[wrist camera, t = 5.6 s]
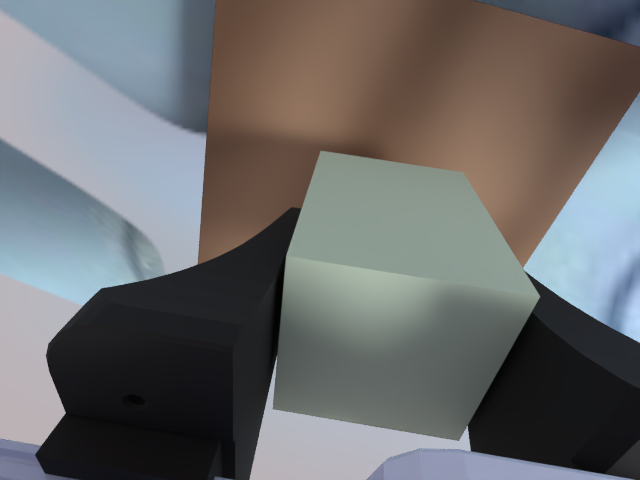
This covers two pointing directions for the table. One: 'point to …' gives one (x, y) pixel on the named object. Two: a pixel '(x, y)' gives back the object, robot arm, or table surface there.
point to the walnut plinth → (405, 105)
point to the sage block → (396, 298)
